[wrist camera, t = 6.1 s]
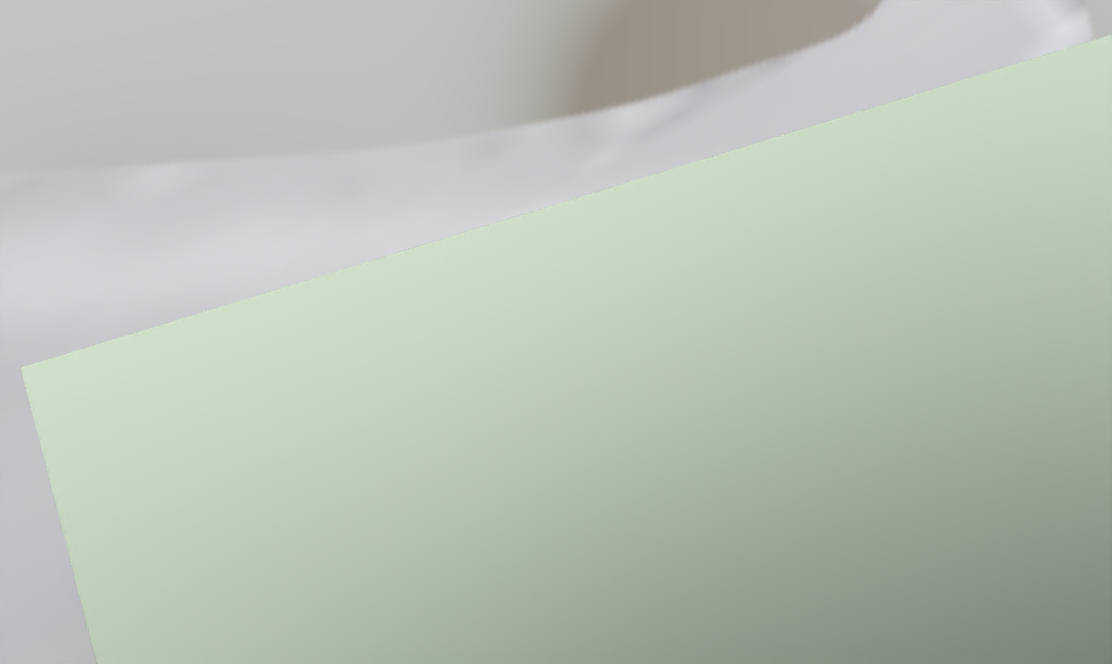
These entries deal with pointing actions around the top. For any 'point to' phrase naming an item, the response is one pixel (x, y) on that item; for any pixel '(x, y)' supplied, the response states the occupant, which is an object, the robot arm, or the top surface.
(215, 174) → the top surface
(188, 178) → the top surface
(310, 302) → the sage block
